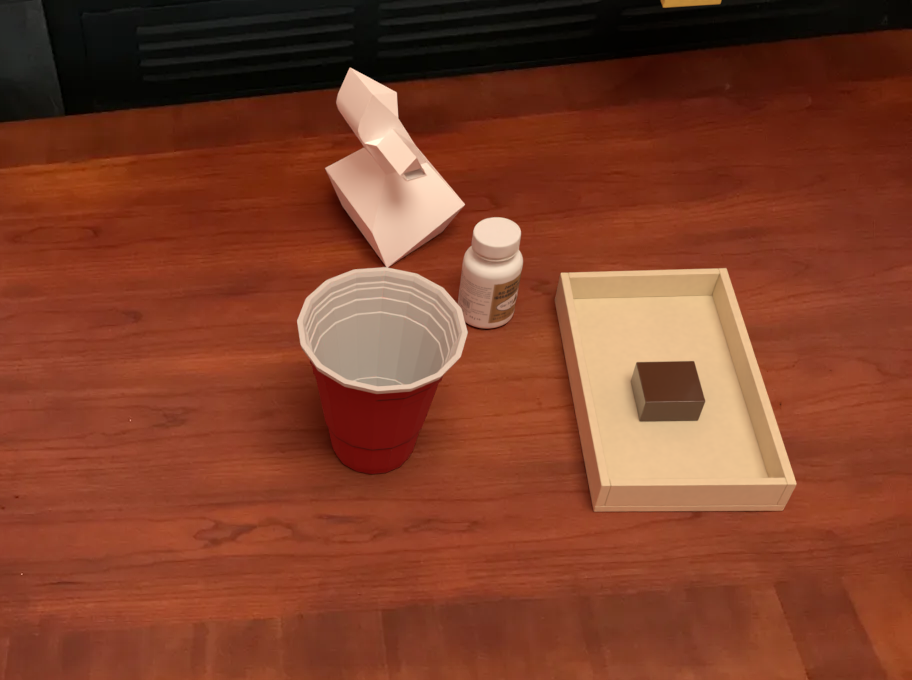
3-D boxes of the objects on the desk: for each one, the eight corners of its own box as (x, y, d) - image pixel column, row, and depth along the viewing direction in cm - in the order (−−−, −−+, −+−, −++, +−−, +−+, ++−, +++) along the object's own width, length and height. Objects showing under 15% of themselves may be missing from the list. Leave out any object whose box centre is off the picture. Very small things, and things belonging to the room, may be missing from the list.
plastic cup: (369, 530, 78) (376, 409, 68) (269, 441, 84) (262, 318, 74) (484, 451, 81) (505, 325, 72) (380, 370, 87) (387, 243, 77)
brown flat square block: (687, 380, 83) (694, 360, 81) (698, 421, 80) (706, 401, 79) (630, 381, 83) (636, 361, 81) (639, 422, 81) (645, 402, 79)
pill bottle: (503, 336, 88) (516, 256, 82) (448, 321, 89) (458, 241, 83) (521, 301, 90) (536, 220, 84) (468, 287, 92) (479, 206, 85)
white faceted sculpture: (398, 160, 102) (407, 12, 91) (473, 251, 94) (492, 100, 83) (311, 186, 101) (310, 39, 90) (378, 281, 93) (386, 131, 82)
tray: (716, 296, 88) (726, 267, 86) (783, 511, 76) (797, 484, 73) (554, 300, 90) (560, 272, 88) (593, 512, 77) (601, 485, 75)
